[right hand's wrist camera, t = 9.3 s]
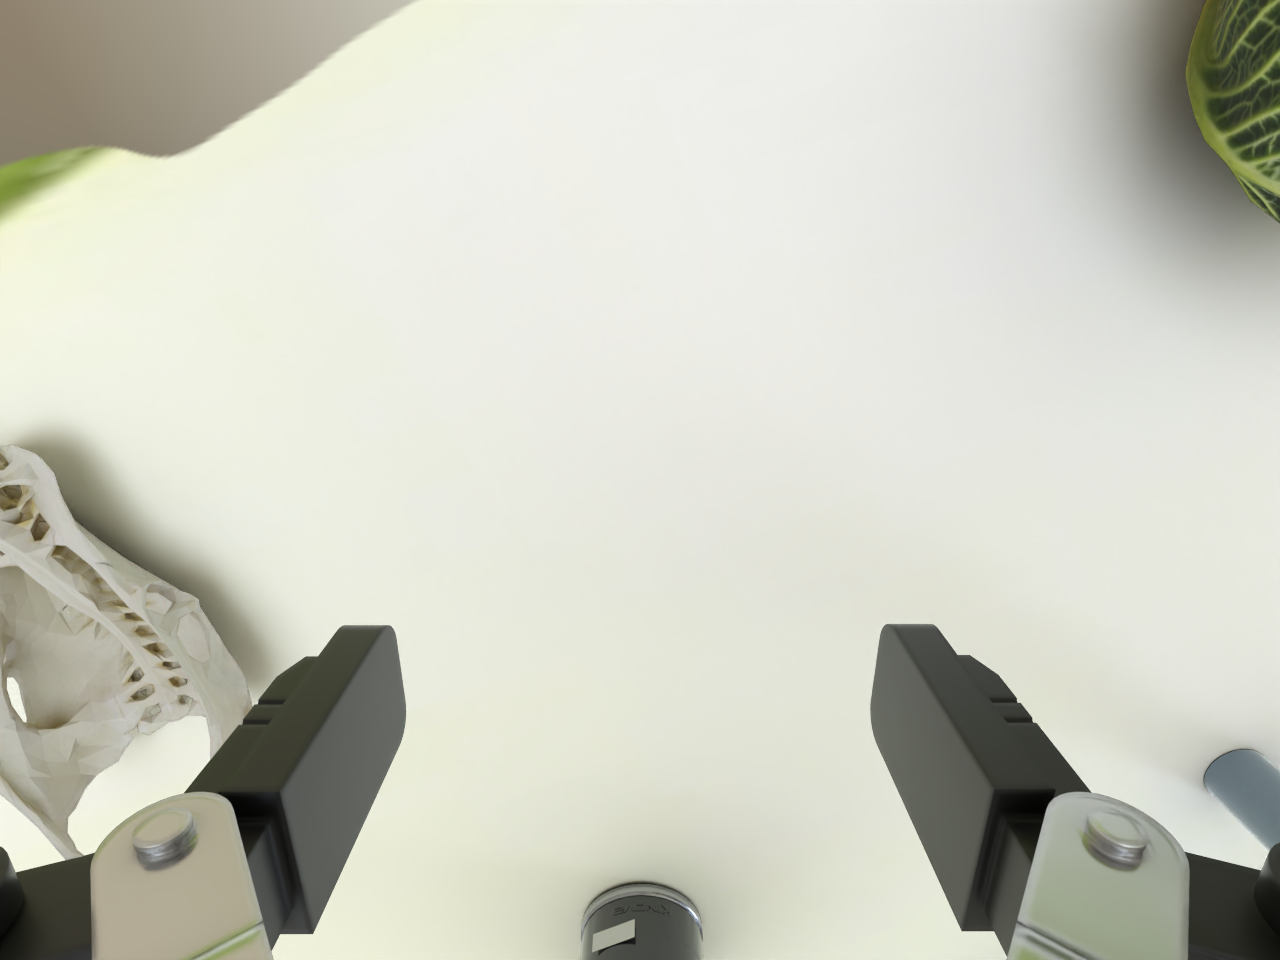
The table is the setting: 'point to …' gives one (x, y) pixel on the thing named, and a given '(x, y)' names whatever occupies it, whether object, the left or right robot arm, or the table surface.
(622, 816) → the table surface
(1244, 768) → the blue slim bottle
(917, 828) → the right robot arm
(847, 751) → the table surface
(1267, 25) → the vegetable
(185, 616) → the anatomical model
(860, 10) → the table surface
